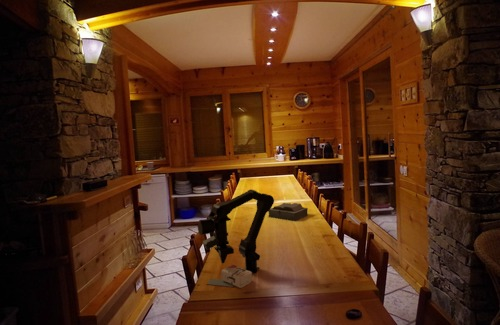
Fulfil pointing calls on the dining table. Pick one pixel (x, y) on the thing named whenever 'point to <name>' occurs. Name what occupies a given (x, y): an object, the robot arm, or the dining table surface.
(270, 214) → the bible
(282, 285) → the dining table surface
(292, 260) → the dining table surface
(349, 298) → the dining table surface
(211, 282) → the slate mat
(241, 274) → the ink box
